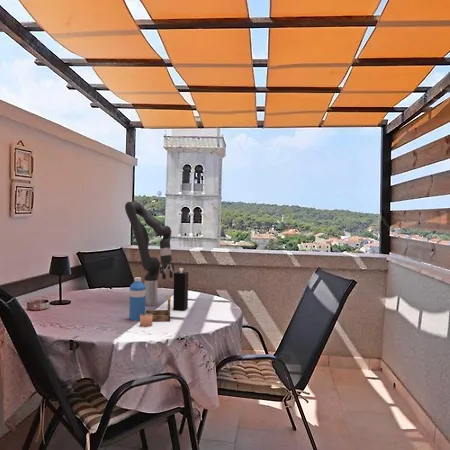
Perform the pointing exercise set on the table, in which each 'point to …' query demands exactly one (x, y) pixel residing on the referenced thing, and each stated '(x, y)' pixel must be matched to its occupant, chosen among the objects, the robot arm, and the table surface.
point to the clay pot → (146, 320)
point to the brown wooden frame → (160, 313)
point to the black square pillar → (180, 290)
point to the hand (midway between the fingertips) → (167, 278)
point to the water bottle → (137, 299)
